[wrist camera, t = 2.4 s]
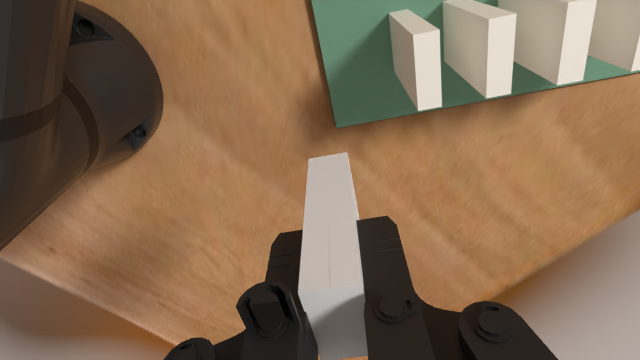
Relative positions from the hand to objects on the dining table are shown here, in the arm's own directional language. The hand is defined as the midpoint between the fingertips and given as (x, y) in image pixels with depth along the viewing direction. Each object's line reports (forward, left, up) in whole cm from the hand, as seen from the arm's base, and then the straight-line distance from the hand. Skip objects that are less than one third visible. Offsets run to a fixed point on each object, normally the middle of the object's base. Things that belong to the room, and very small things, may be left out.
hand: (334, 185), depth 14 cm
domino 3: (+15, 0, -21) cm, 26 cm away
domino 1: (+6, 0, -21) cm, 22 cm away
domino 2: (+11, 0, -21) cm, 24 cm away
